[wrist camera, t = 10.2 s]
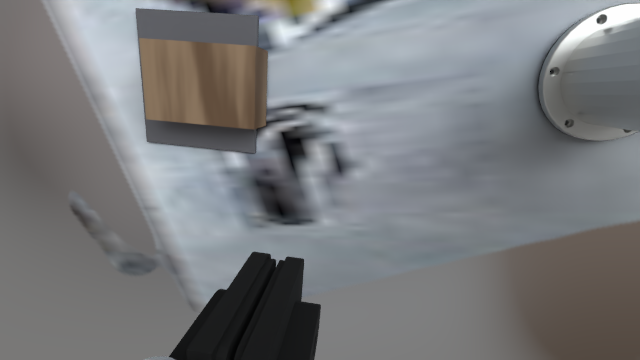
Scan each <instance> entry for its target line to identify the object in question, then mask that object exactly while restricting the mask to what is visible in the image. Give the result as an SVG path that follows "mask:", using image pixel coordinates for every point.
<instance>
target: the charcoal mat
mask: <svg viewBox="0 0 640 360" xmlns="http://www.w3.org/2000/svg"><path fill="white" fill-rule="evenodd" d="M136 19H137V30H138V42H139V54H140V66H141V78H142V89H143V101H144V113H145V125H146V137H147V142H154V143H164V144H173V145H182V146H192V147H201V148H211V149H220V150H229V151H239V152H248V153H256V130H257V129H243V128H233V127H222V126H212V125H201V124H191V123H181V122H170V121H160V120H149V119H146V111H145V99H144V88H143V76H142V65H141V53H140V41H139V38H146V39H161V40H176V41H190V42H205V43H220V44H235V45H250V46H257V47H258V28H259V17H258V16H255V15H239V14H222V13H205V12H189V11H172V10H155V9H139V8H136Z"/></svg>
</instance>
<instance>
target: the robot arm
mask: <svg viewBox="0 0 640 360" xmlns="http://www.w3.org/2000/svg"><path fill="white" fill-rule="evenodd" d="M596 20H597V22H596ZM550 70H551V74H550ZM538 88H539V99H540V103H541V106H542V109H543V111H544V113H545V115H546V116H547V118H548V120H549V121H550V122H551V123H552V124H553V125H554V126H555V127H556V128H558V129H559V130H561V131H562V132H564V133H565V134H568V135H570V136H573V137H576V138H580V139H585V140H593V141H607V140H615V139H619V138H623V137H627V136H629V135H632V134H634V133H636V132H639V131H640V3H624V4H620V5H616V6H611V7H608V8H605V9H602V10H600V11H597V12H595V13H593V14H591V15H589V16H587V17H585V18H583V19H581V20H580V21H578V22H577V23H576V24H574V25H573V26H572V27H570V28H569V29H568V30H567V31H566V32H565V33H564V34H563V35H562V36H561V37H560V38H559V39H558V40H557V42H556V43H555V44H554V46H553V47H552V48H551V50H550V52H549V54H548V55H547V57H546V59H545V61H544V64H543V67H542V70H541V73H540V78H539V86H538ZM565 121H566V123H565ZM303 270H304V259H301V258H294V257H286V259H285V261H283V260H280V261H279V263H278V265H277V267H276V260H275V259H271V255H270V254H266V253H259V252H253V253H252V254H251V255H250V257H249V258H248V260H247V261H246V262H245V264H244V265H243V267H242V268H241V270H240V271H239V273H238V274H237V276H236V277H235V279H234V280H233V282H232V283H231V285H230V286H229V288H228V289H227V290H223V289H219V290H218V291H217V292H216V293H215V294H214V295H213V297H212V298H211V299H210V301H209V302H208V304H207V305H206V306H205V308H204V309H203V310H202V312H201V313H200V315H199V316H198V317H197V319H196V320H195V321H194V323H193V324H192V326H191V327H190V329H189V330H188V331H187V333H186V334H185V335H184V337H183V338H182V339H181V341H180V342H179V344H178V345H177V347H176V348H175V349H174V350H173V352H172V353H171V355H170V356H169V357H165V356H158V357H150V358H147V359H144V360H314V357H315V351H316V344H317V337H318V329H319V319H320V309H321V305H320V304H313V303H307V302H301V297H302V284H303Z"/></svg>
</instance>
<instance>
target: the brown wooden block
mask: <svg viewBox="0 0 640 360" xmlns="http://www.w3.org/2000/svg"><path fill="white" fill-rule="evenodd" d="M139 41H140V53H141V65H142V76H143V88H144V99H145V111H146V119H149V120H160V121H170V122H181V123H191V124H201V125H212V126H222V127H233V128H243V129H257V128H260V127H263V126H266V98H267V59H268V51H266V50H264V49H261V48H259V47H257V46H250V45H235V44H220V43H205V42H190V41H176V40H161V39H146V38H139Z"/></svg>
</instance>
